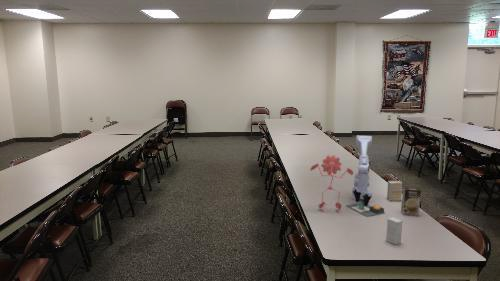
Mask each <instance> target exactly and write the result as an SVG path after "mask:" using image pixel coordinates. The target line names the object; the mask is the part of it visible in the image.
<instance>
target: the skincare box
mask: <svg viewBox="0 0 500 281" xmlns="http://www.w3.org/2000/svg"><path fill="white" fill-rule="evenodd" d="M386 223H387V224H386V236H385V237H386V238H385V240H386V241H387V242H389V243H392V244H394V245H398V244H400V243H401V242H402V234H403V220H401V219H398V218H396V217H393V216H392V217H389V218H387V222H386Z"/></svg>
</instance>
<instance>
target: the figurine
mask: <svg viewBox="0 0 500 281" xmlns="http://www.w3.org/2000/svg"><path fill="white" fill-rule="evenodd" d="M325 157H326V158H323V159H322V163H321V165H319V163H315V164H313V165H312V166H311V167H310V170H309V171H310V172H311V171H314V170H315V169H317V168H318V170H319V173H320V175H321V177H327V176H328V177H329V176H330V177H331V181H330V185H329V186H328V187H327V188H326V189H325V190H324V191H322V192H321V199H322V200H321V201H322V202H321V203H319V204H318V205H315V207H316V206H318V208H319V210H320V209H322V212H323V213H324V210H325V207H324V206H325V205H326V206H327V205H328V206H329V205H330V204H328V203H326V202H325V201H324V196H323V195H324V193H325V191H327V190H330V191H332V190H334V191H336V192H337V193H338V195H340V194H341V193H340V191H338V190H336V189H334V188H333V186H332V183H333V180H334V178H338V179H342V178H343V176H344V175H345V174H346V173H348V174H349V175H351V176H353V175H354V171H353V170H352V169H351V168H349V167H347V168H346V170H345V171H344V173H342V174H341V176H340V177H339V176H337V171H338V172H339V171H342V168H341V166H342V162H341V161H340V160H341V158H340V157H339V156H337V157H336V155H334V154H333V155H331V156H330V155H328V154H327V156H325ZM320 166H321V167H322V171H323V172H324V173H325V172H326V173H327V174H323V173H322V171H321V168H320ZM339 200H340V196H338V198H337V202H336V203H335V204H334V206H335V207H336V209H337V213H338V214H339V210H341V208H342V206H343V205H342V204H341V203H340V202H339Z"/></svg>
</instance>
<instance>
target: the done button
mask: <svg viewBox="0 0 500 281" xmlns="http://www.w3.org/2000/svg"><path fill="white" fill-rule="evenodd" d="M381 207H382V206H380V205H373V208H374V209H376V210H378V209H381Z"/></svg>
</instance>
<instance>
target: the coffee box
mask: <svg viewBox="0 0 500 281" xmlns="http://www.w3.org/2000/svg"><path fill="white" fill-rule="evenodd" d="M421 193H422V190H421V188H419V187H412V186H402V197H401V206H400V212H401V213H402V215H406V216H415V217H419V214H420V213H419V212H420V203H421V195H422V194H421Z"/></svg>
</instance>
